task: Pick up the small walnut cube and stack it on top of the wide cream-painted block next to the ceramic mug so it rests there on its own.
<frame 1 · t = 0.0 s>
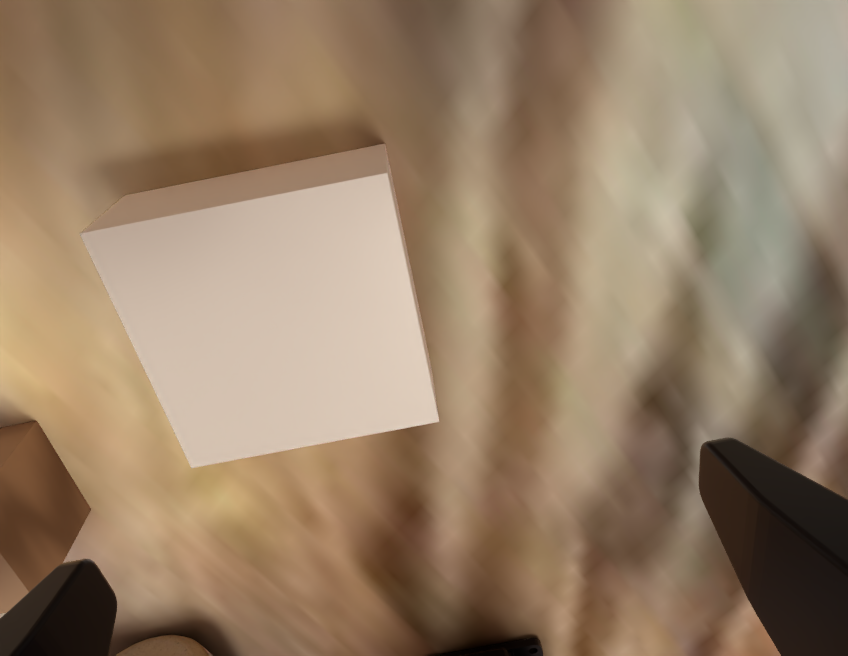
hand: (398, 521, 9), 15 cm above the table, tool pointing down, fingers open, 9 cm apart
cream block: (292, 284, 23), on the table
walnut cube: (8, 476, 27), on the table
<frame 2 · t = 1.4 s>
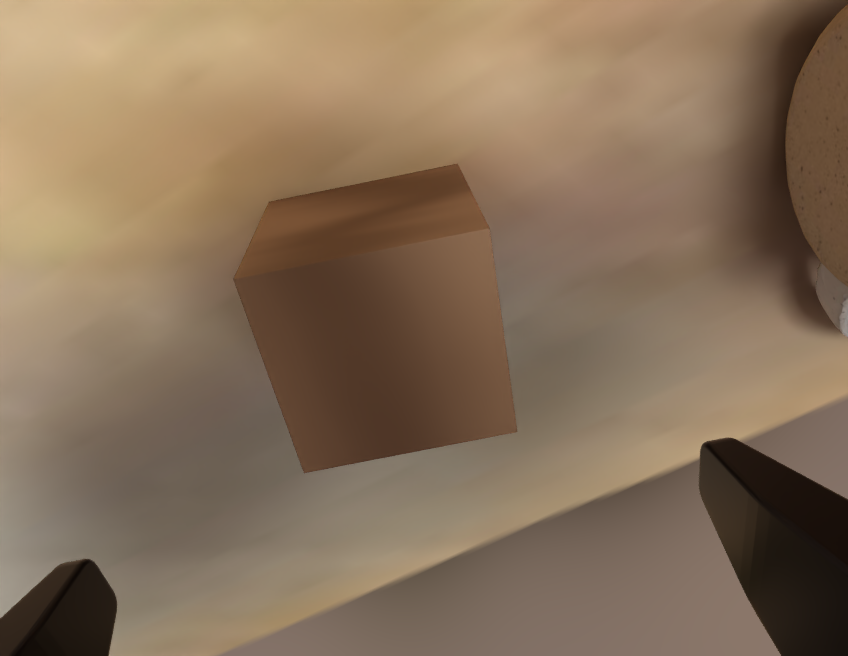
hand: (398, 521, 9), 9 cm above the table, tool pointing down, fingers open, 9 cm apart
walnut cube: (383, 268, 18), on the table
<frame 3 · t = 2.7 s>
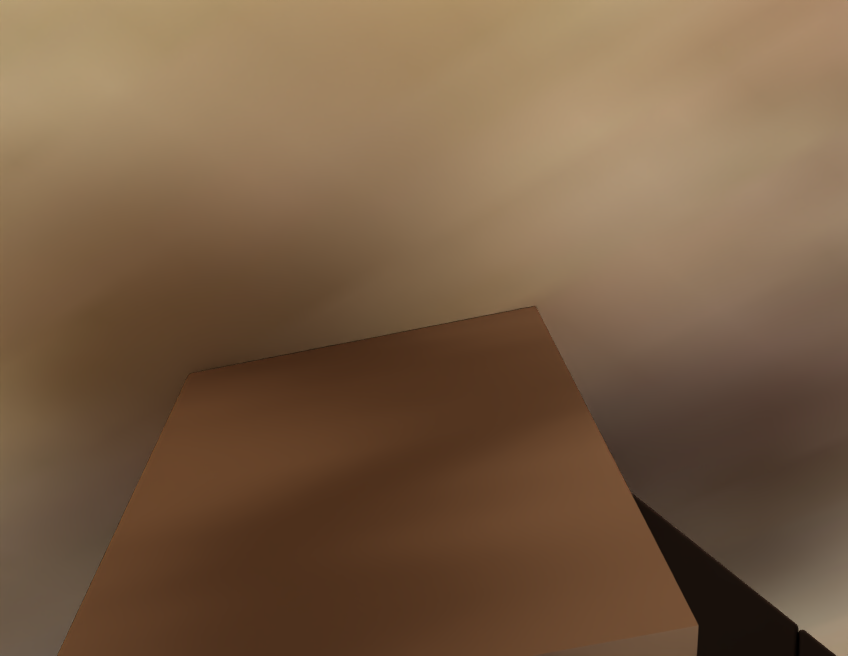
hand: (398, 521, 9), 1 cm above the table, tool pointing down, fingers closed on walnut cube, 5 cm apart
walnut cube: (396, 471, 10), on the table, touching gripper
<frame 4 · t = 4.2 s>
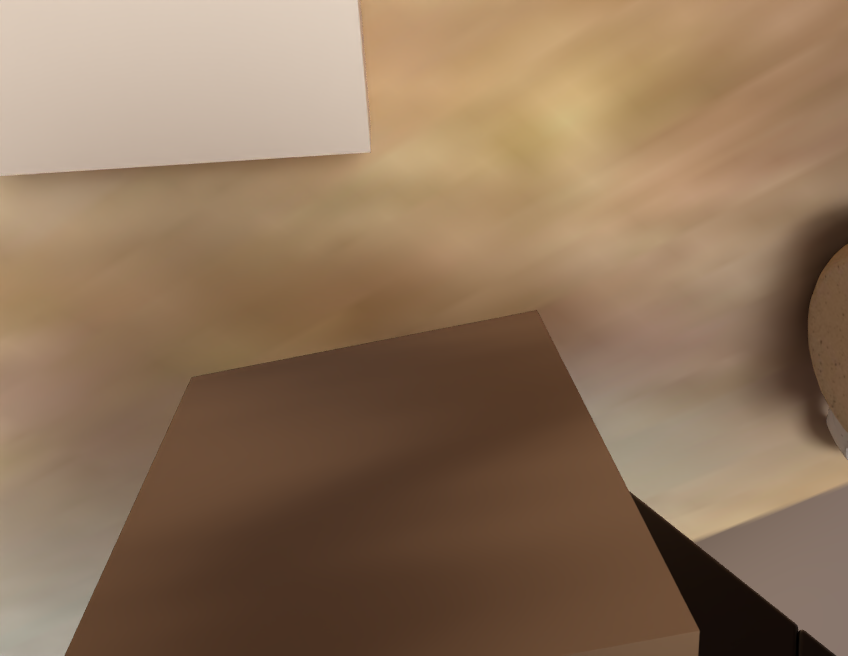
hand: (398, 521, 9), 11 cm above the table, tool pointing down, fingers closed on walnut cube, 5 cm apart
walnut cube: (398, 474, 10), point 10 cm above the table, touching gripper
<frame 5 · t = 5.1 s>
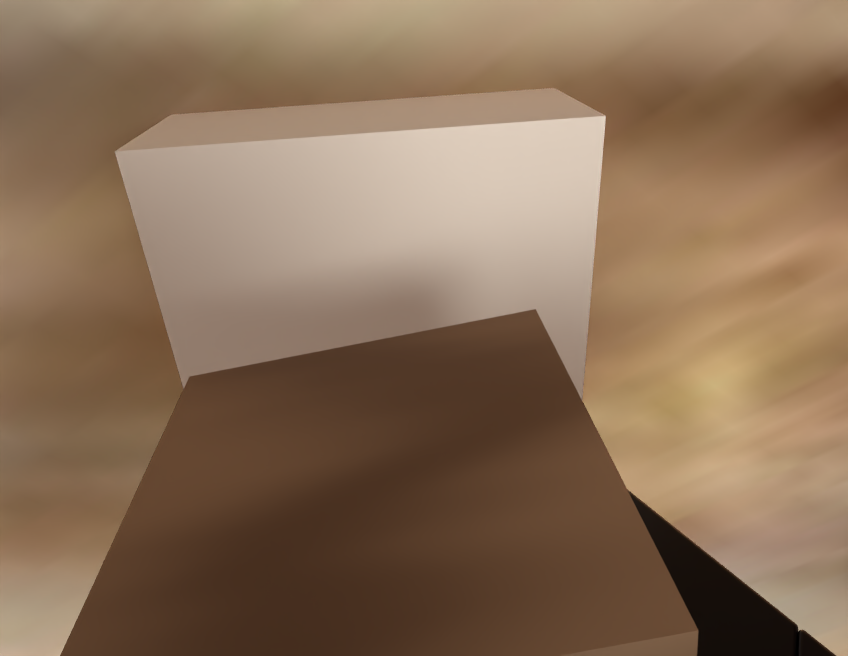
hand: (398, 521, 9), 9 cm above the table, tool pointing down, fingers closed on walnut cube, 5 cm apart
cream block: (381, 271, 17), on the table
walnut cube: (396, 474, 10), point 8 cm above the table, touching gripper
when the fingers open (6 cm above the table, at t = 5.8 s): walnut cube drops 2 cm, resting on cream block.
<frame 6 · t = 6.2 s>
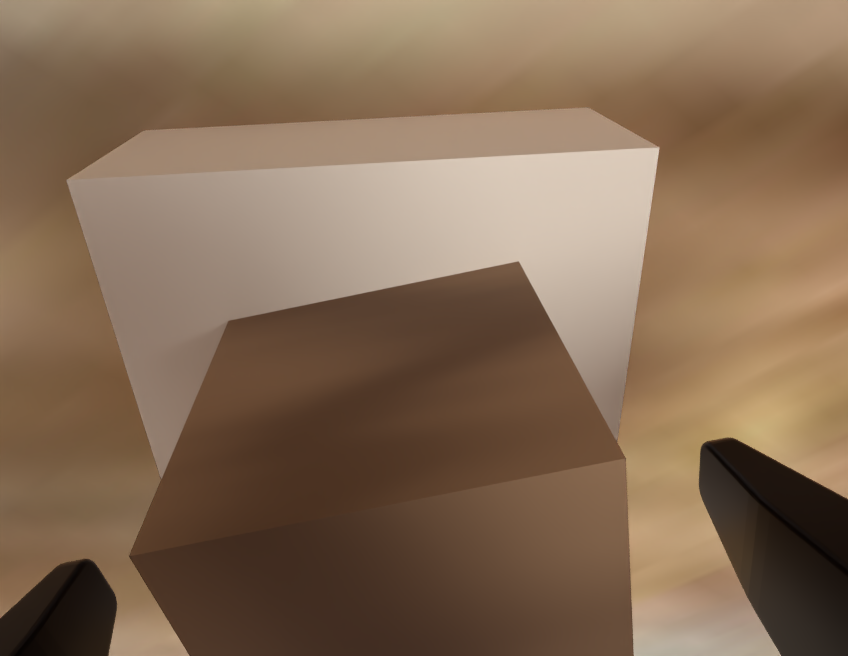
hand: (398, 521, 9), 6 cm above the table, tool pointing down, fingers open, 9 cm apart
cream block: (384, 308, 15), on the table, touching walnut cube
walnut cube: (402, 408, 12), point 4 cm above the table, touching cream block
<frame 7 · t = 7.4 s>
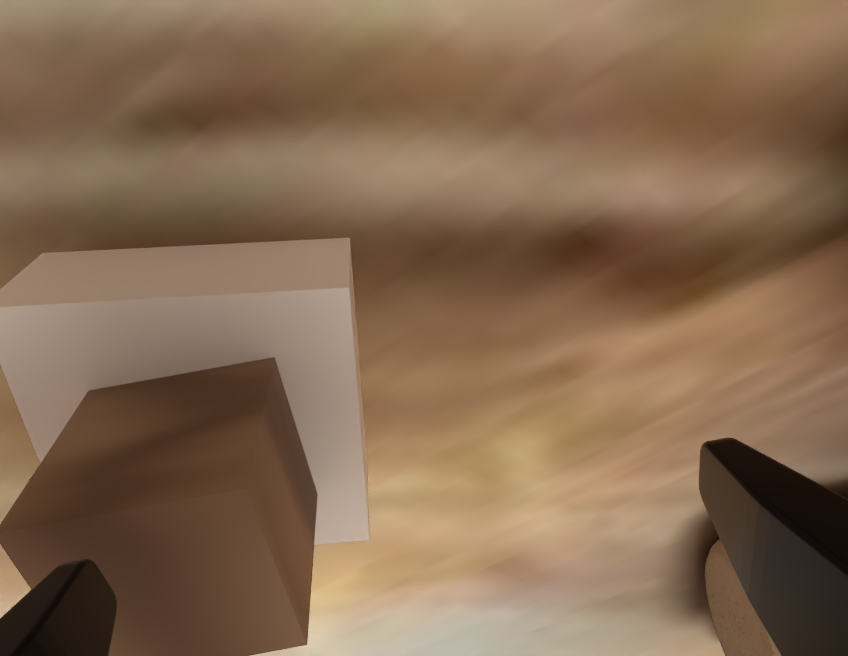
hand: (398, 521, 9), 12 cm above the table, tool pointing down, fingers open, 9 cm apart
cream block: (226, 365, 21), on the table, touching walnut cube
walnut cube: (211, 446, 18), point 4 cm above the table, touching cream block
ceramic mug: (783, 555, 29), on the table
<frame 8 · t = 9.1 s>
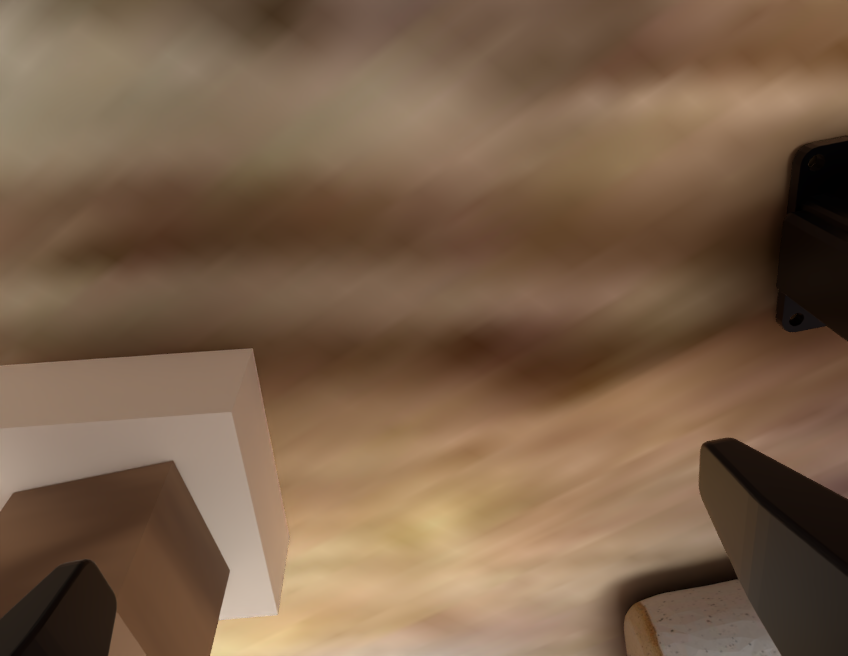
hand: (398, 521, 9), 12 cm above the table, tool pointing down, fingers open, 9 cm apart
cream block: (154, 453, 24), on the table, touching walnut cube
walnut cube: (127, 534, 20), point 4 cm above the table, touching cream block
ceramic mug: (703, 615, 31), on the table
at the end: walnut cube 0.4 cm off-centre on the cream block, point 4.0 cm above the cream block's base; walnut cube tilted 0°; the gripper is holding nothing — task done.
